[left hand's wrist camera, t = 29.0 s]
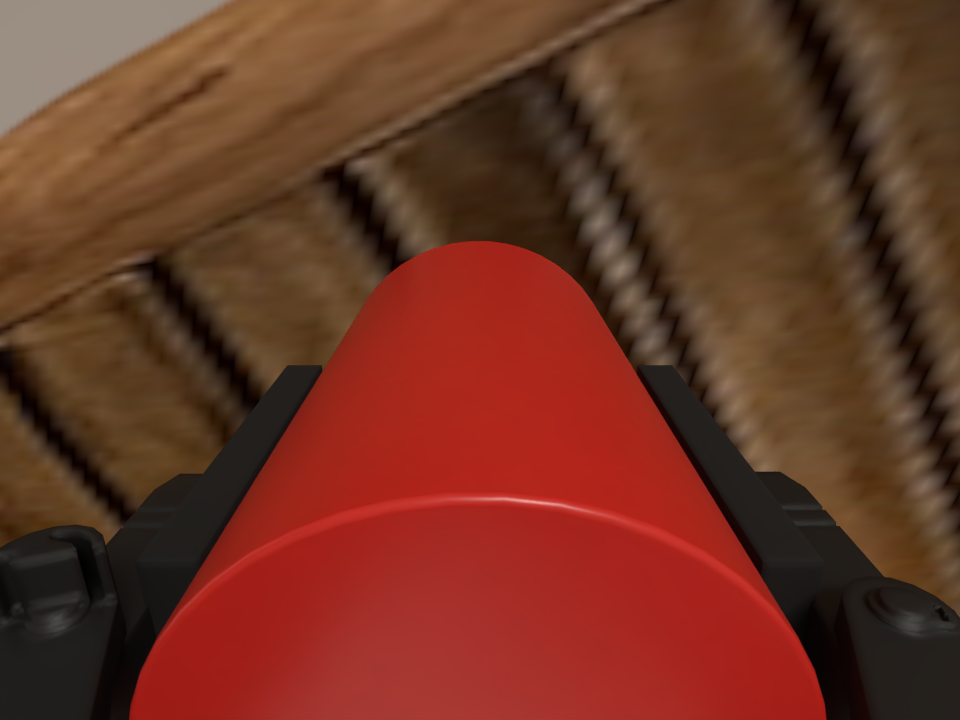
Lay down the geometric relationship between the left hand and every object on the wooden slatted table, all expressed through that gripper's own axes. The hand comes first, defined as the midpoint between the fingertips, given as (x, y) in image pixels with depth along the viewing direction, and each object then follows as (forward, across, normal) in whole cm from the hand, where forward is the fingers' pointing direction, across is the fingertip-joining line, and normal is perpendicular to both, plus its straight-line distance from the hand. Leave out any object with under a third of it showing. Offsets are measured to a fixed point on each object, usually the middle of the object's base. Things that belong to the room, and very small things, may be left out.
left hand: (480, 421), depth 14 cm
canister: (+3, 0, 0) cm, 3 cm away
